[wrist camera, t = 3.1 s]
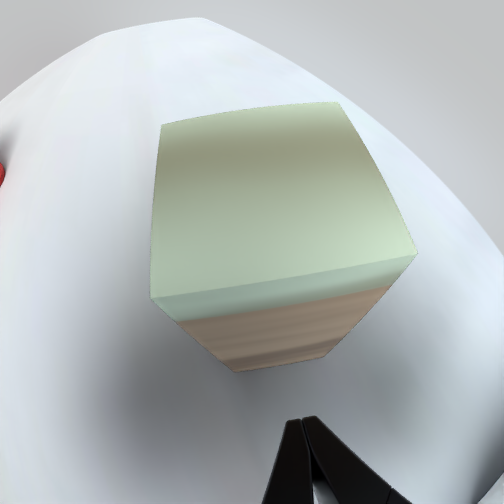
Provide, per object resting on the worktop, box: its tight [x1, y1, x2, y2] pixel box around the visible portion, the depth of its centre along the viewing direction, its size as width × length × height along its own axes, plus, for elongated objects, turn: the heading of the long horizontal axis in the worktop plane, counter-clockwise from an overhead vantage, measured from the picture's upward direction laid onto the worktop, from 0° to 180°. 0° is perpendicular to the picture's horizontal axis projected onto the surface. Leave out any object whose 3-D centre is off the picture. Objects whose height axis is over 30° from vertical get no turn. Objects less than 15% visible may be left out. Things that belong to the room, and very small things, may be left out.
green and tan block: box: [150, 102, 418, 372], centre depth 11 cm, size 5×5×12 cm
